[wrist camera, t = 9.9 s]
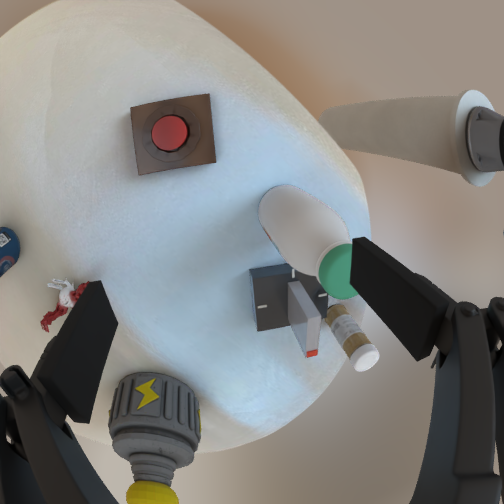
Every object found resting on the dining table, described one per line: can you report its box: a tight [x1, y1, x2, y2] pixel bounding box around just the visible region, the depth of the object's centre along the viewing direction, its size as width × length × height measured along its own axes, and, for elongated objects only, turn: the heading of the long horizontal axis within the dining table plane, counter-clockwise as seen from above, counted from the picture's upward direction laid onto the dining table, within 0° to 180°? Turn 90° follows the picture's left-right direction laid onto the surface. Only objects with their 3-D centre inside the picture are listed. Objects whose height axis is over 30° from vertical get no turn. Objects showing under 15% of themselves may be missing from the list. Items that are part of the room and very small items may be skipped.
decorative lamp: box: [108, 373, 201, 504], centre depth 37 cm, size 19×19×30 cm
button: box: [152, 116, 188, 150], centre depth 28 cm, size 4×4×2 cm
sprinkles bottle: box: [324, 305, 379, 372], centre depth 42 cm, size 5×5×13 cm
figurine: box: [41, 278, 89, 332], centre depth 36 cm, size 15×12×7 cm
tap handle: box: [288, 281, 321, 358], centre depth 37 cm, size 7×2×9 cm, turn 5°
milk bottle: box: [258, 185, 358, 299], centre depth 30 cm, size 8×8×20 cm
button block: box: [130, 94, 216, 175], centre depth 30 cm, size 10×9×4 cm
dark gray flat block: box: [249, 264, 328, 332], centre depth 43 cm, size 12×11×3 cm
